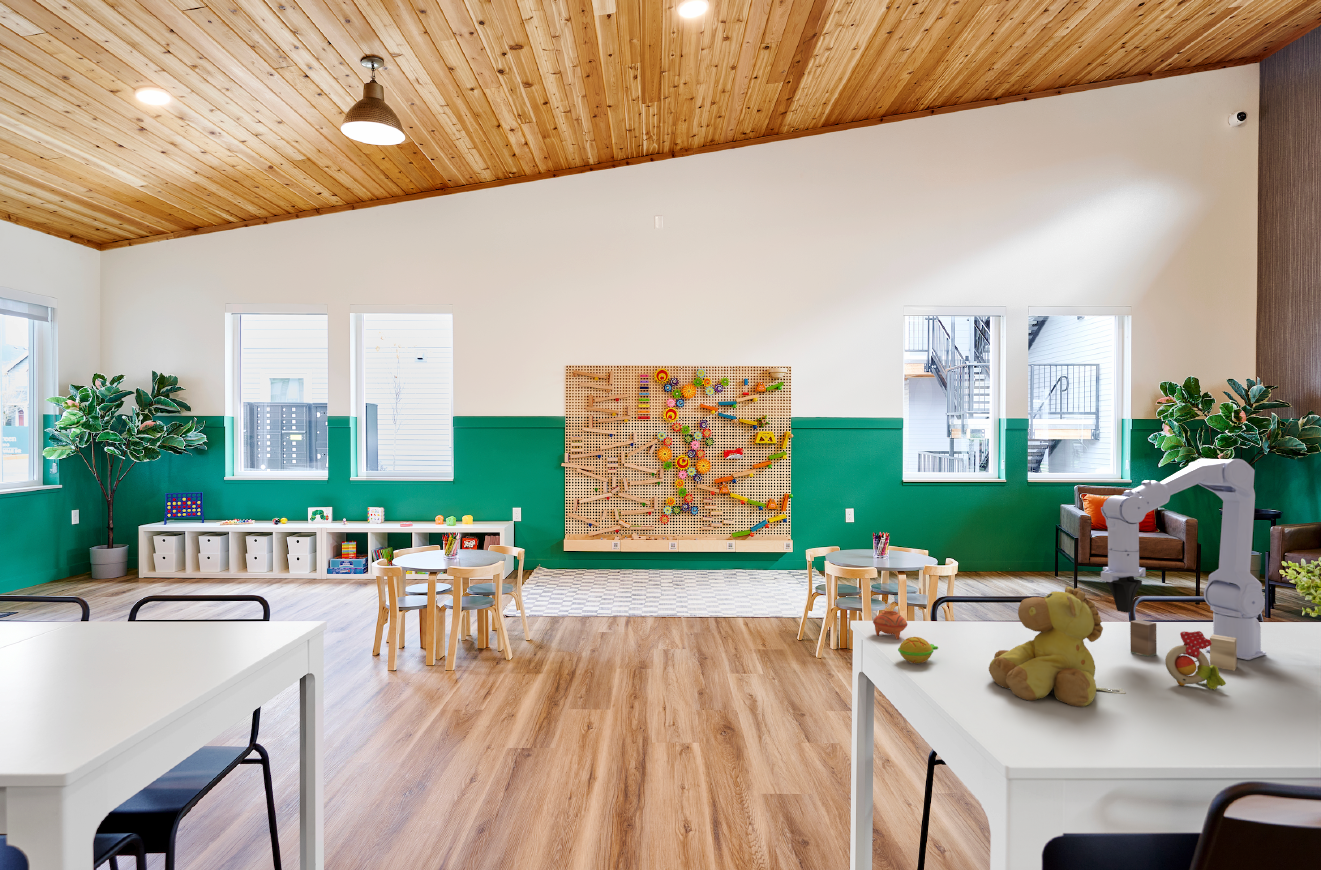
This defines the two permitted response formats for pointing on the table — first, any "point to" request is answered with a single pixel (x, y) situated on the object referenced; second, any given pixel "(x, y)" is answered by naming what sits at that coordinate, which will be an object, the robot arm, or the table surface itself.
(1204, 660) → the bird rattle
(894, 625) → the pot
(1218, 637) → the oak block
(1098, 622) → the giraffe plush
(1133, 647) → the walnut block
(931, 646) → the yellow green oval toy
